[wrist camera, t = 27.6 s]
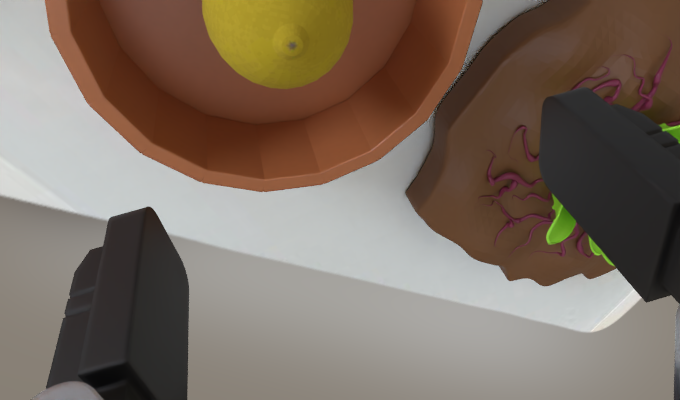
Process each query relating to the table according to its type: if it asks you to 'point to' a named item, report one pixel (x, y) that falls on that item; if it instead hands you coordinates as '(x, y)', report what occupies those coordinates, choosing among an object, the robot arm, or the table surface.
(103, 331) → the robot arm
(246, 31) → the lemon
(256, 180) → the pot
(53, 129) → the table surface
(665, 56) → the plant
